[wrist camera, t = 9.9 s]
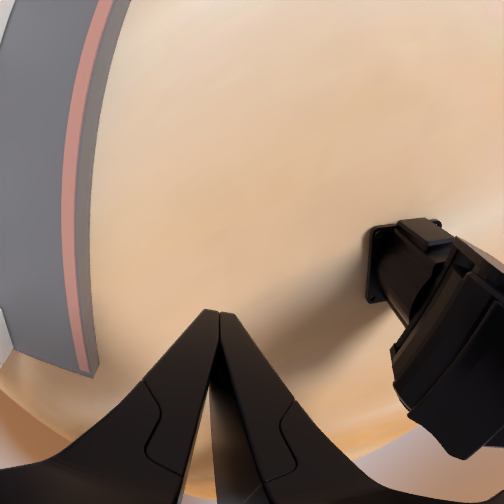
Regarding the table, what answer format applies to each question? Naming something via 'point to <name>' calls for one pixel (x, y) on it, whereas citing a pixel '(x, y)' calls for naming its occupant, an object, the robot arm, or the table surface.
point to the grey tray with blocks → (50, 172)
